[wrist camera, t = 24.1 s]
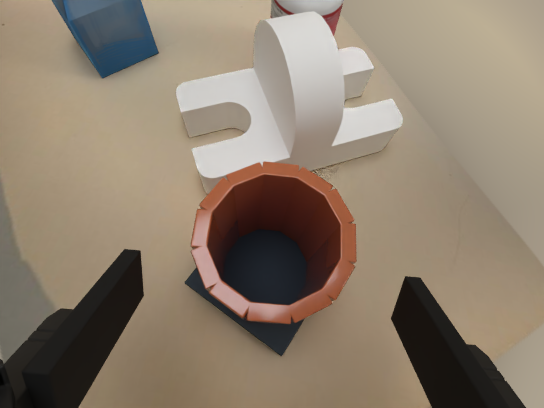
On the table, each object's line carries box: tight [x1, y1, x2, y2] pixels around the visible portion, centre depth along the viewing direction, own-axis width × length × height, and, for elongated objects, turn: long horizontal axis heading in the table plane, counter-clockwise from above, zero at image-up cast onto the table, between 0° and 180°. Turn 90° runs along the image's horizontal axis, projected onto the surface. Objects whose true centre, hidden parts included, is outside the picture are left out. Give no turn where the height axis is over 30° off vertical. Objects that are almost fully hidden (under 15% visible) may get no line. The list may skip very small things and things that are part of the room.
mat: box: [185, 229, 306, 356], centre depth 25 cm, size 9×9×1 cm
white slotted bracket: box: [176, 11, 403, 194], centre depth 25 cm, size 10×18×11 cm, turn 109°
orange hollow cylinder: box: [191, 161, 357, 324], centre depth 20 cm, size 8×8×10 cm
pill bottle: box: [271, 0, 344, 36], centre depth 28 cm, size 6×6×11 cm
